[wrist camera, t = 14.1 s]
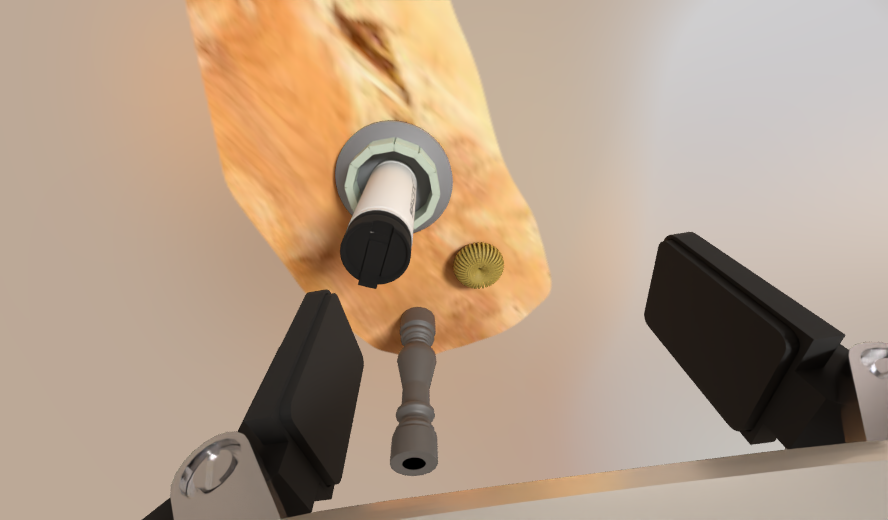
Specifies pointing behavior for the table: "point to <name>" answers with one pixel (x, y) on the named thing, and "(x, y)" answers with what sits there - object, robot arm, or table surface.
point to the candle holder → (415, 396)
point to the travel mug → (382, 226)
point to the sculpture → (478, 265)
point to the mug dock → (401, 145)
